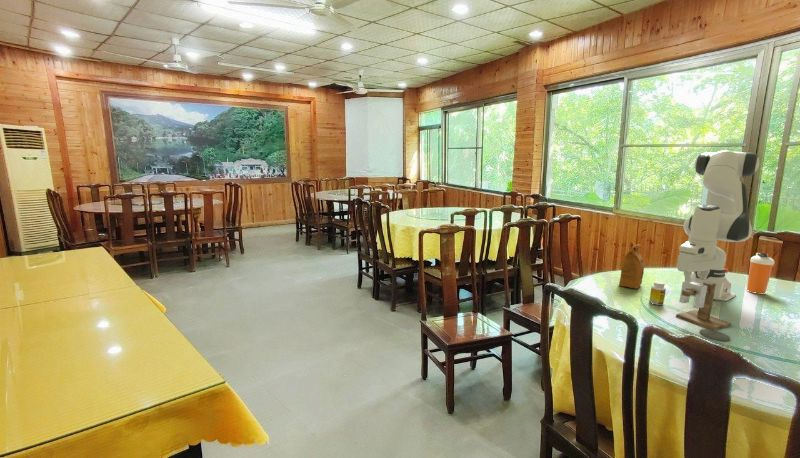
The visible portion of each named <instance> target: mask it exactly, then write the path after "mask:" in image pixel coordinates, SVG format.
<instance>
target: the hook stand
mask: <svg viewBox="0 0 800 458" xmlns="http://www.w3.org/2000/svg"><path fill="white" fill-rule="evenodd" d="M703 285H707V291H706V297H705V302H704V307H702V308H697V310H689V311H685V312H680V313H676V315H675V318H678V317H679V318H678V319H681V320H684V321H687V322H689V323H692V324H695V325H696V326H700V327H703V328H704V329H710V330H715V331H718V330H720V329H725V328H728V327H731V326H732V322H729V321H727V320H724V319H720V318H718V317H714V316H712V315H711V313H712V308H713V303H714V299H713V297H714V292H715V287H716V284H715V283H711V282H703ZM682 295H684V296H690V297H692V296H695V295H696V291H694V290H690V289H685V290H682Z"/></svg>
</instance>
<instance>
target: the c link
mask: <svg viewBox="0 0 800 458" xmlns="http://www.w3.org/2000/svg"><path fill="white" fill-rule="evenodd" d="M685 289H690V290H694V291H696V296H695V298H694V303H693V307H694V308H695V309H696V308H697V309H699V308H702V307H704V302H705V297H706V291H707V285H703V284H699V283H696V282H690V283H687V282H685V281H684V280H682V284H681V289H680V296H679V300H678V301H679V303H681V304H687V303H690V297H691V296H684V295H682V290H685Z"/></svg>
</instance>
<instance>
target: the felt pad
mask: <svg viewBox="0 0 800 458" xmlns="http://www.w3.org/2000/svg"><path fill="white" fill-rule="evenodd" d="M698 333H699V334H700V335H701V336H702V337H705V338H707V339H709V340H712V341H717V342H729V341H730V340H731V337H730V336H729V335H728V334H727V333H724V332H721V331H718V330H710V329H708V328H702V329H700V330H699V332H698Z"/></svg>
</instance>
